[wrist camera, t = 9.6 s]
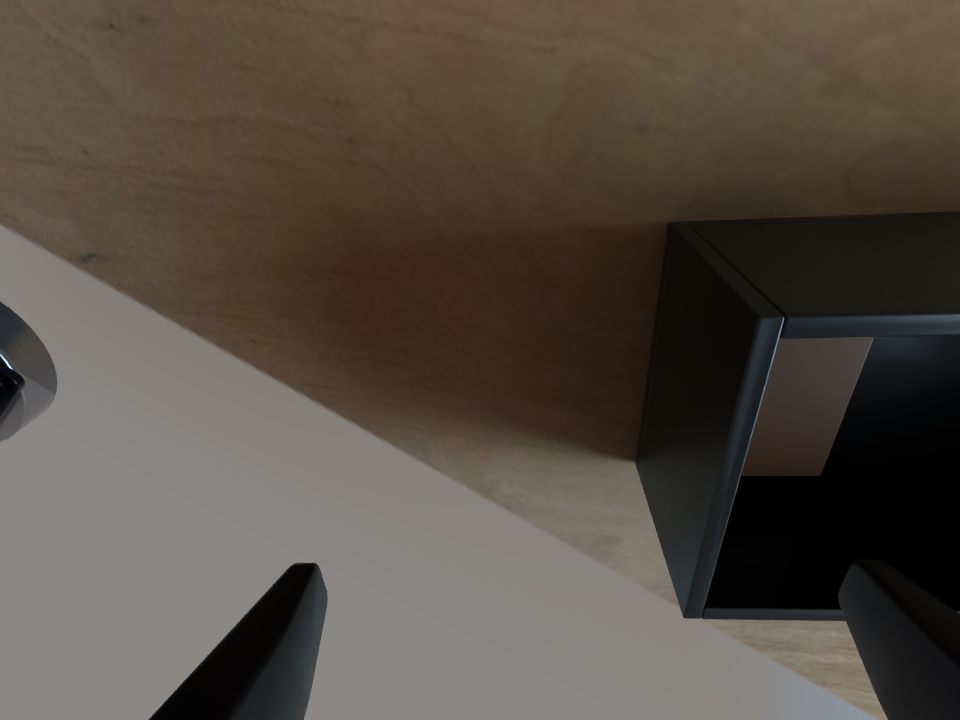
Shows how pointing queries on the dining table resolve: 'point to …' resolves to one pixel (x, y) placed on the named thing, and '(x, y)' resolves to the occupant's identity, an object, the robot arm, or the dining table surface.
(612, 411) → the dining table surface
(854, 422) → the trash bin
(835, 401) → the brown block
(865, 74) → the dining table surface
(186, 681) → the robot arm
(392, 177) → the dining table surface
